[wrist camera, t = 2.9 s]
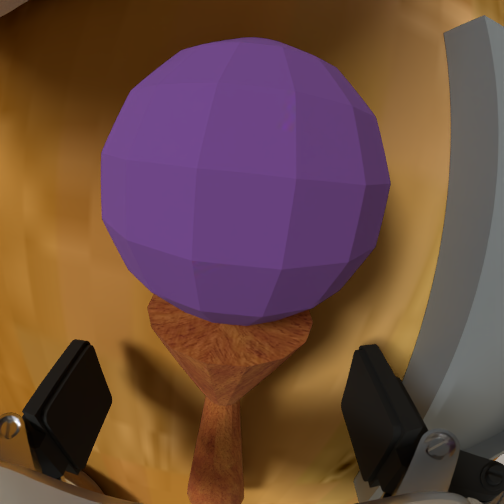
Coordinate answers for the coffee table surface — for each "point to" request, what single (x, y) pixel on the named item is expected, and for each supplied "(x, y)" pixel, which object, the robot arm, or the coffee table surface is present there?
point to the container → (9, 5)
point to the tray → (467, 260)
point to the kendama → (240, 217)
